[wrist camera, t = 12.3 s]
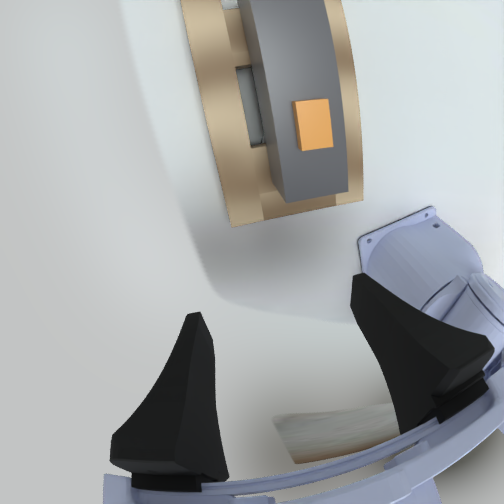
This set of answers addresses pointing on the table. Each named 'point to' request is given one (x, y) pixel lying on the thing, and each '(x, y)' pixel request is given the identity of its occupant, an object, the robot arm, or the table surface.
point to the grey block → (298, 96)
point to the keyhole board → (233, 118)
